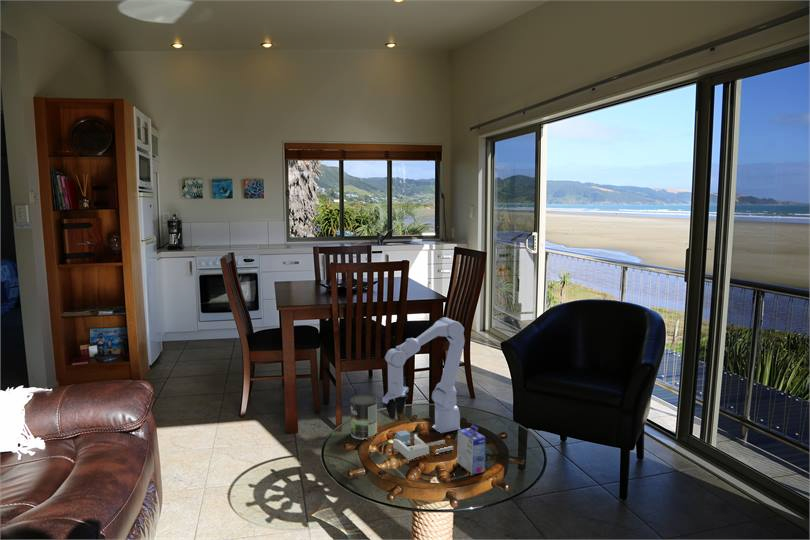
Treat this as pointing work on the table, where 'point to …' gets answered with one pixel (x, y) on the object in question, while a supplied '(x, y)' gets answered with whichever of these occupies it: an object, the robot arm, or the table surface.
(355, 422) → the coffee can
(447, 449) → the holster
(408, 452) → the port
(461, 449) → the ink cartridge box
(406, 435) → the plug
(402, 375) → the robot arm
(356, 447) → the table surface
